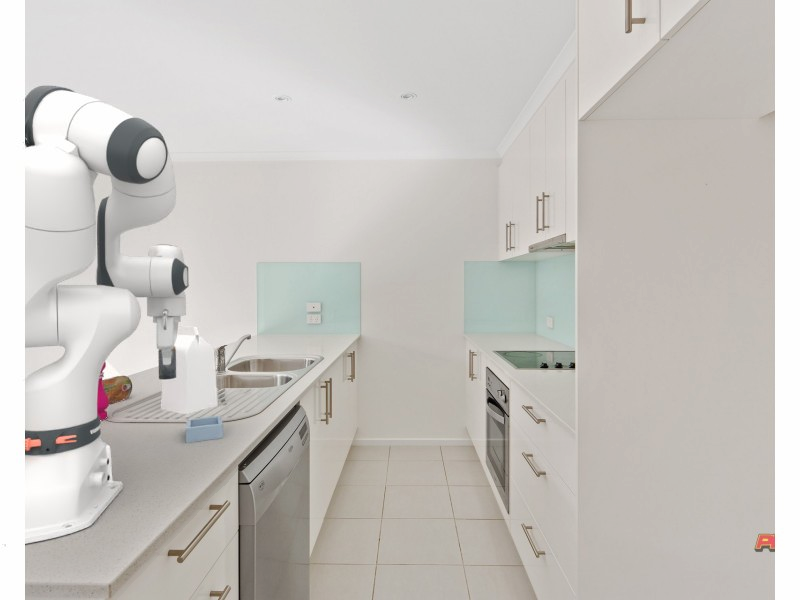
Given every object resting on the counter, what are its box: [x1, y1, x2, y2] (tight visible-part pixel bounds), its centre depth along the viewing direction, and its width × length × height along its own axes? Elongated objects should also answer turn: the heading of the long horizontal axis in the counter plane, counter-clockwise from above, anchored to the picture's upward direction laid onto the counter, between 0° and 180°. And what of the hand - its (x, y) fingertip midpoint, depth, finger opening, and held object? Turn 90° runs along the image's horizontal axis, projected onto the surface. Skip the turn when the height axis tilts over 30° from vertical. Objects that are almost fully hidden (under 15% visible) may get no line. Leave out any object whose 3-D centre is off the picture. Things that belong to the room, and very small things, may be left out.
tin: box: [102, 375, 133, 405], centre depth 147 cm, size 15×3×8 cm, turn 167°
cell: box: [157, 346, 176, 380], centre depth 114 cm, size 4×4×9 cm
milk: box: [160, 325, 219, 415], centre depth 141 cm, size 12×12×26 cm
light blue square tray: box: [185, 415, 224, 444], centre depth 115 cm, size 8×8×4 cm
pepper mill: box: [97, 361, 110, 421], centre depth 128 cm, size 7×7×20 cm
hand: (167, 362), depth 114 cm, fingers closed on cell, 4 cm apart
